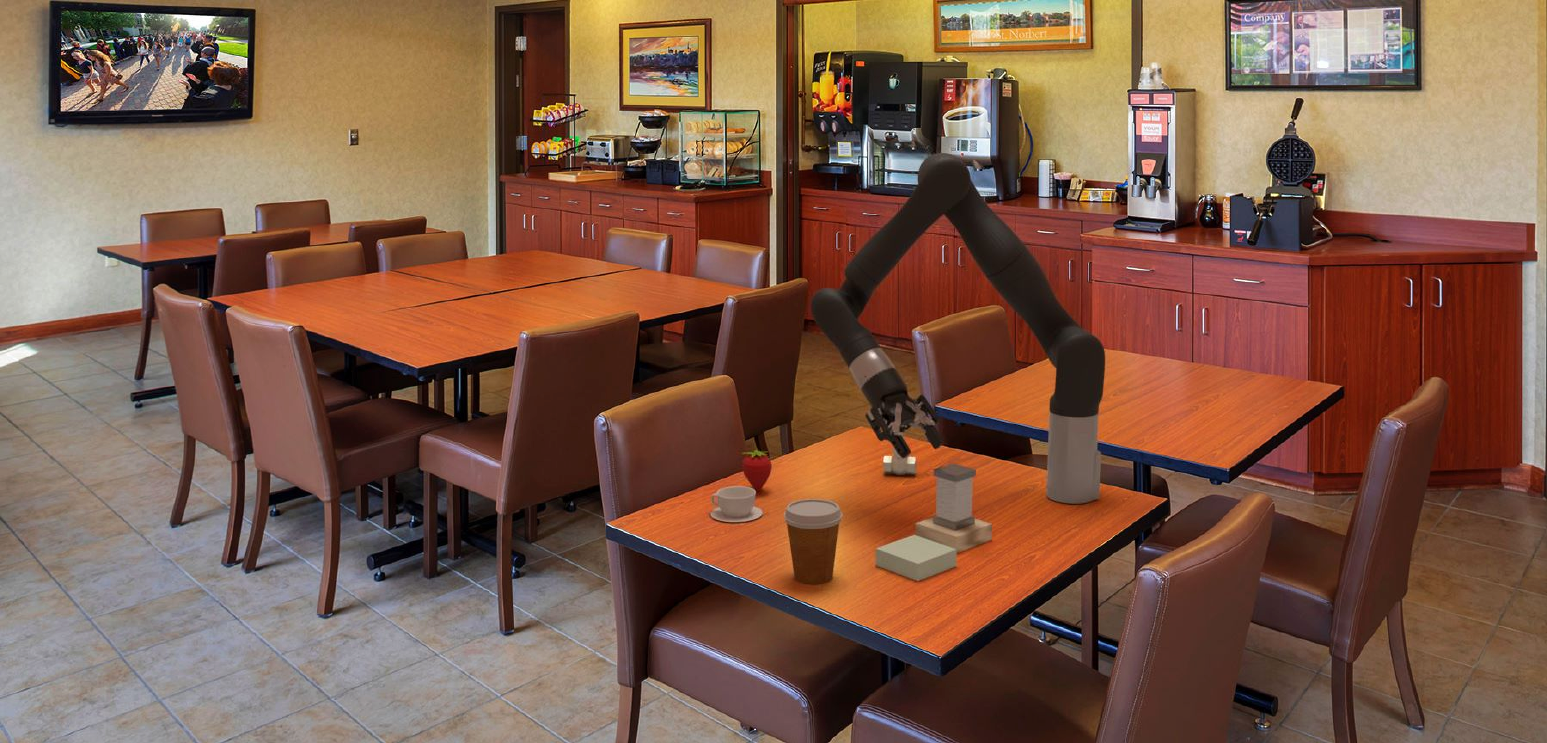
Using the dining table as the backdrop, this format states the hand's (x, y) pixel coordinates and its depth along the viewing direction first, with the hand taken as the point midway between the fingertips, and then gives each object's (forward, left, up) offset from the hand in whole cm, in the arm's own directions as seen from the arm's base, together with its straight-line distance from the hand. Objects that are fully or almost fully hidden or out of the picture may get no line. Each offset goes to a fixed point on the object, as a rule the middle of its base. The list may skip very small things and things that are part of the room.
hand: (923, 451), depth 214 cm
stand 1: (+7, +17, -15) cm, 23 cm away
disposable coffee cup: (+24, +17, -15) cm, 33 cm away
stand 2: (-4, +6, -15) cm, 16 cm away
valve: (-6, -33, -15) cm, 36 cm away
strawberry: (+25, -29, -15) cm, 41 cm away
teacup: (+32, -16, -15) cm, 39 cm away
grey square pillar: (-4, +6, -12) cm, 14 cm away
